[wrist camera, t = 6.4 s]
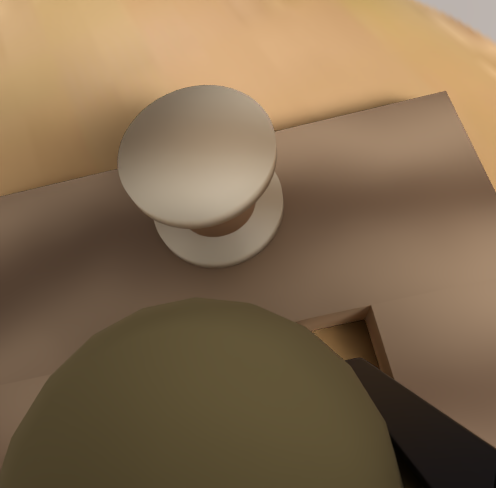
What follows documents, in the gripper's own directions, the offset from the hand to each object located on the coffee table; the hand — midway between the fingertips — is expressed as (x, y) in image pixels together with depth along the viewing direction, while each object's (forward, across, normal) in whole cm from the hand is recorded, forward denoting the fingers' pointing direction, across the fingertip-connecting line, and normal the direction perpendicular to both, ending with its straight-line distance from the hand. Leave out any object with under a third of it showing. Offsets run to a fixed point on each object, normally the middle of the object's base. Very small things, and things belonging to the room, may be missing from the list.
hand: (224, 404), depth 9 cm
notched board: (+8, 0, +4) cm, 8 cm away
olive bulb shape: (+4, 0, +6) cm, 7 cm away
